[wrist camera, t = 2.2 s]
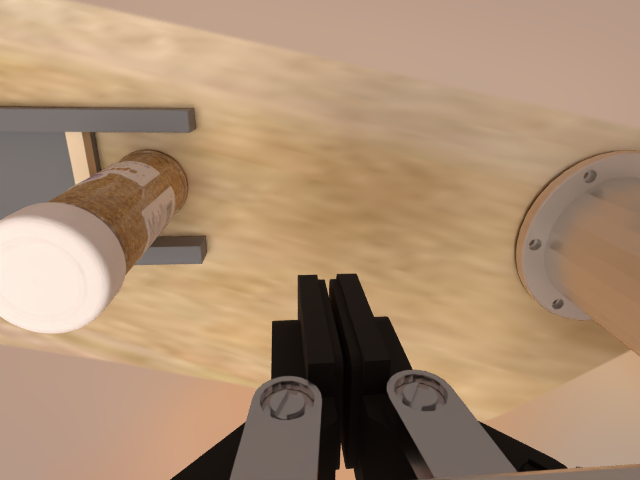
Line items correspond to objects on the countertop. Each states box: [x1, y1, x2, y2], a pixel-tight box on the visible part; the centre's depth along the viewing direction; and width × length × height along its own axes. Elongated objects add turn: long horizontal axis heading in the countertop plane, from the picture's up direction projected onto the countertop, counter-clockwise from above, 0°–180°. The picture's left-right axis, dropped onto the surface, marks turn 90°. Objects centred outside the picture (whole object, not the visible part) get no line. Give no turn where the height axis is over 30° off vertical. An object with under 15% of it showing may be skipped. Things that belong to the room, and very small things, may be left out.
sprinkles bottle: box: [0, 150, 188, 333], centre depth 20 cm, size 5×5×14 cm
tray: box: [0, 106, 207, 265], centre depth 25 cm, size 22×9×3 cm, turn 89°
